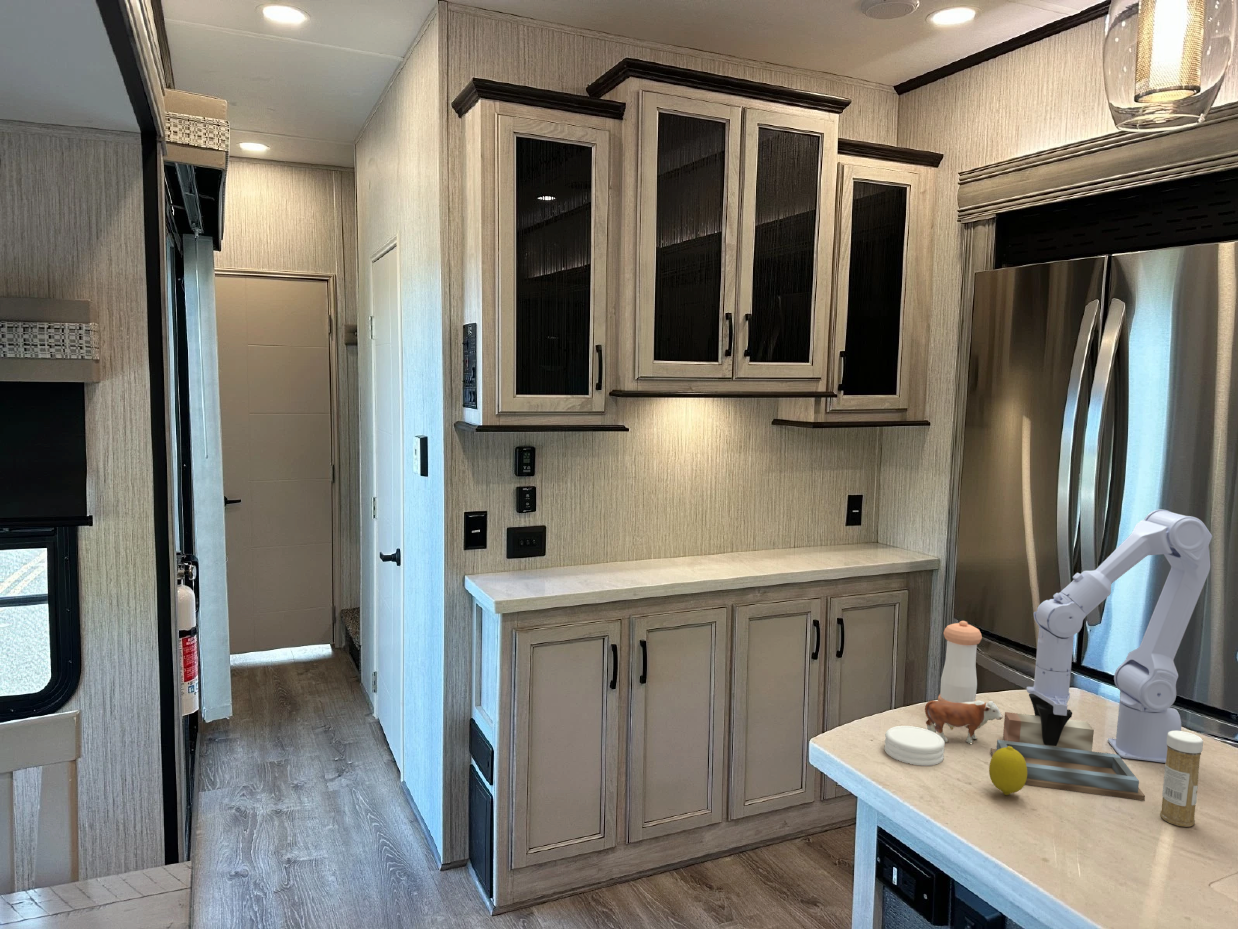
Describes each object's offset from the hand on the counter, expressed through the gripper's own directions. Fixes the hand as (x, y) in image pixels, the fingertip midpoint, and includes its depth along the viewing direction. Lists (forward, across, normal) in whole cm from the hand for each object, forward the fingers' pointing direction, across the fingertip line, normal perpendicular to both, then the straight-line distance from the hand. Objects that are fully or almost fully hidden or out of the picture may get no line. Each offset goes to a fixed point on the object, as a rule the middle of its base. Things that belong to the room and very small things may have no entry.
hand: (1046, 739), depth 159 cm
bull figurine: (+2, +2, -15) cm, 15 cm away
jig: (+1, +12, 0) cm, 12 cm away
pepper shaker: (+2, -11, -14) cm, 18 cm away
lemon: (+2, +23, -11) cm, 26 cm away
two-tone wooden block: (+1, 0, 0) cm, 1 cm away
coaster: (+2, +11, -24) cm, 26 cm away
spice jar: (+2, +24, +13) cm, 27 cm away
